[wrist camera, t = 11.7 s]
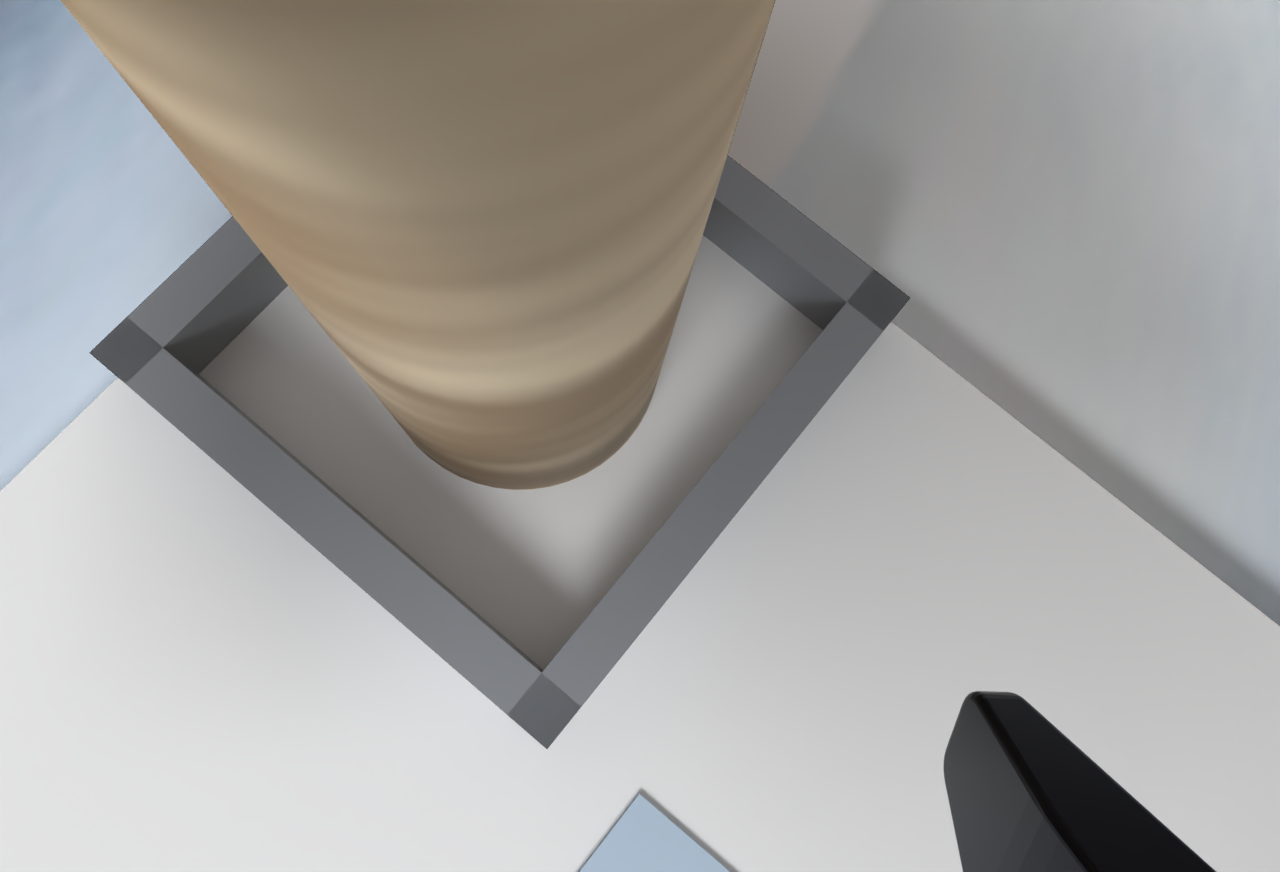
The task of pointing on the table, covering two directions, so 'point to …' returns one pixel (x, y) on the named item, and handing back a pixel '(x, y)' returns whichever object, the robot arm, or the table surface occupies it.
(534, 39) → the maple post
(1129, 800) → the robot arm
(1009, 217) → the table surface
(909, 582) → the base plate
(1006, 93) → the table surface
